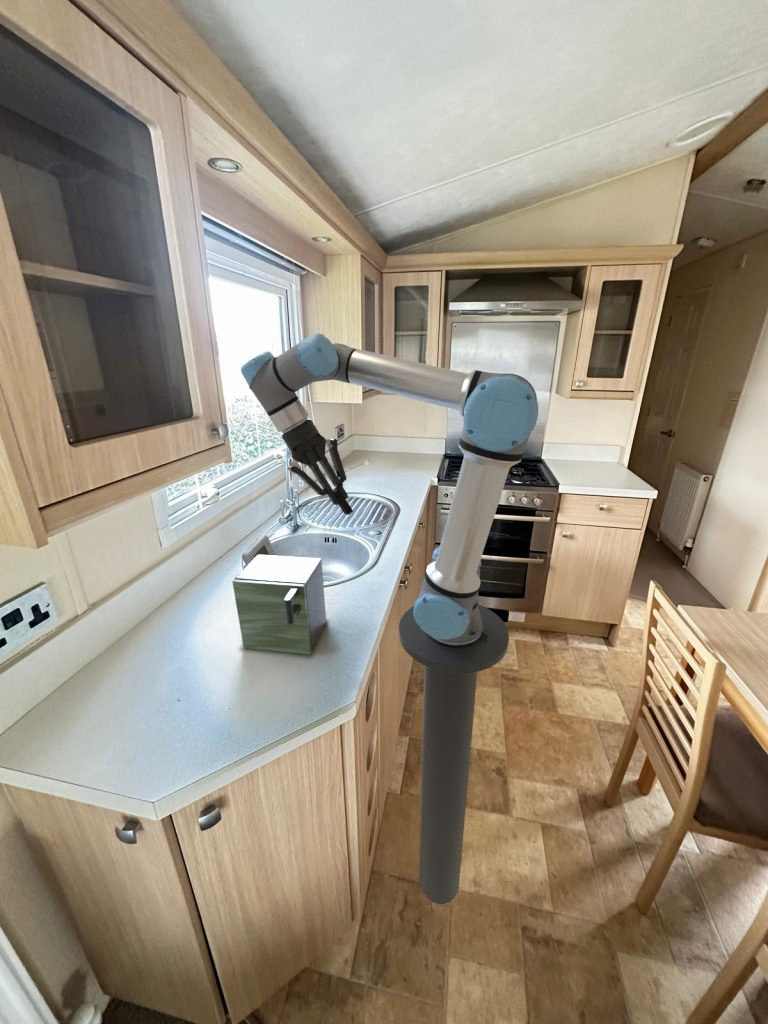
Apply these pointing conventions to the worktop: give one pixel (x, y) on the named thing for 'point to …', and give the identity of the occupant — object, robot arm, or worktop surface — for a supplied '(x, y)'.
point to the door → (273, 616)
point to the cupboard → (297, 573)
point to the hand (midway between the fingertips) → (348, 512)
